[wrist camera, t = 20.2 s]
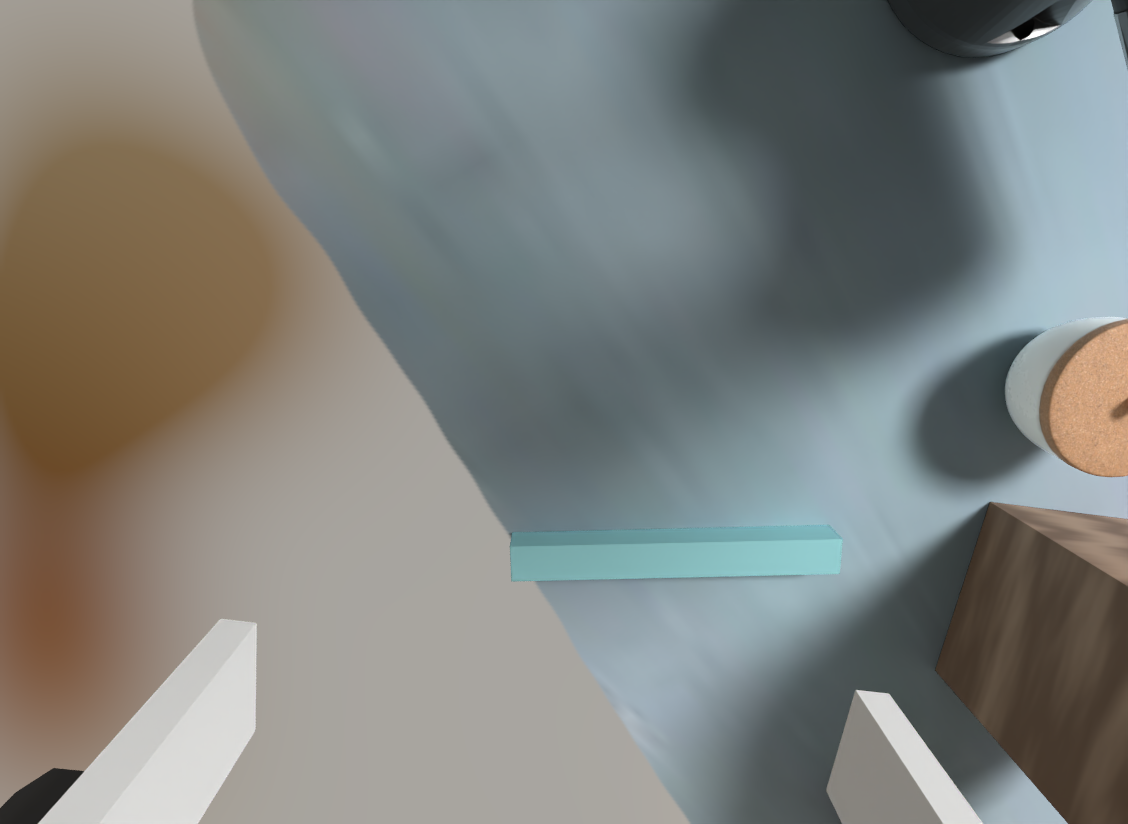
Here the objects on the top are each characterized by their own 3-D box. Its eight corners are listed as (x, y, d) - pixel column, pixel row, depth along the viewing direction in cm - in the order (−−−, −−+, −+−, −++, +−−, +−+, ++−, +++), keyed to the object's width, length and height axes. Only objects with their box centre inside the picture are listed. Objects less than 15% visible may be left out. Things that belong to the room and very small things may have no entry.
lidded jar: (974, 451, 52) (1062, 497, 43) (978, 317, 49) (1073, 336, 40) (1111, 433, 51) (1229, 475, 42) (1122, 297, 48) (1252, 311, 39)
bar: (514, 563, 54) (511, 581, 51) (512, 530, 53) (509, 546, 51) (824, 556, 54) (839, 573, 51) (827, 523, 53) (842, 539, 51)
